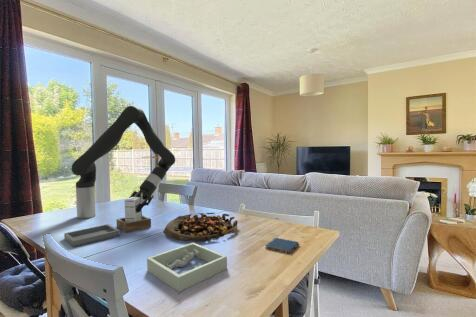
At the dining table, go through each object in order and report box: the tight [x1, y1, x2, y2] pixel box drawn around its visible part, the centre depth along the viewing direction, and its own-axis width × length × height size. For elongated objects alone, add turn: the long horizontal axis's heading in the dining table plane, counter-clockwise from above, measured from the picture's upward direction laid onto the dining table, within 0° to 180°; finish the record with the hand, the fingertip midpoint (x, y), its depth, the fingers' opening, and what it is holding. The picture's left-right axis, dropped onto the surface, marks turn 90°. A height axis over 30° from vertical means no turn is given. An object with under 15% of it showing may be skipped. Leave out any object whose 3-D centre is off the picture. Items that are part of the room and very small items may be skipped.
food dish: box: [162, 212, 239, 242], centre depth 122 cm, size 35×33×8 cm
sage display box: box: [146, 242, 228, 293], centre depth 82 cm, size 18×18×4 cm
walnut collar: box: [116, 214, 152, 233], centre depth 128 cm, size 12×12×4 cm
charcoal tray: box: [63, 223, 121, 248], centre depth 113 cm, size 14×18×2 cm
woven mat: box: [265, 237, 300, 254], centre depth 100 cm, size 10×11×2 cm
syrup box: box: [123, 197, 143, 223], centre depth 127 cm, size 6×6×14 cm
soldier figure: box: [165, 249, 199, 270], centre depth 85 cm, size 8×5×12 cm
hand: (131, 210), depth 127 cm, fingers open, 8 cm apart
